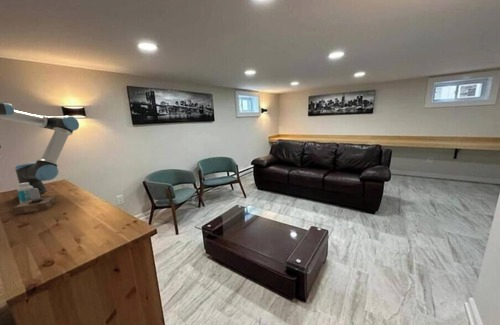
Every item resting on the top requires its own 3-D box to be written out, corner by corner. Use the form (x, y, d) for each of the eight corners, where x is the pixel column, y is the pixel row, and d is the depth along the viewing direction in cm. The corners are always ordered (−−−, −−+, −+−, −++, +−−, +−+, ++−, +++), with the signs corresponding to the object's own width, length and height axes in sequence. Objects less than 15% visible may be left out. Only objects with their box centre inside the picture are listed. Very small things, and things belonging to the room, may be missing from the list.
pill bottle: (28, 204, 133) (22, 184, 130) (16, 205, 133) (11, 185, 130) (39, 200, 140) (35, 181, 137) (29, 200, 140) (24, 181, 138)
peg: (35, 206, 129) (30, 188, 127) (43, 205, 131) (39, 187, 128) (32, 209, 125) (27, 190, 123) (40, 207, 127) (36, 189, 125)
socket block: (28, 205, 131) (27, 199, 131) (57, 201, 137) (55, 195, 136) (15, 214, 119) (13, 207, 118) (47, 209, 124) (45, 203, 124)
